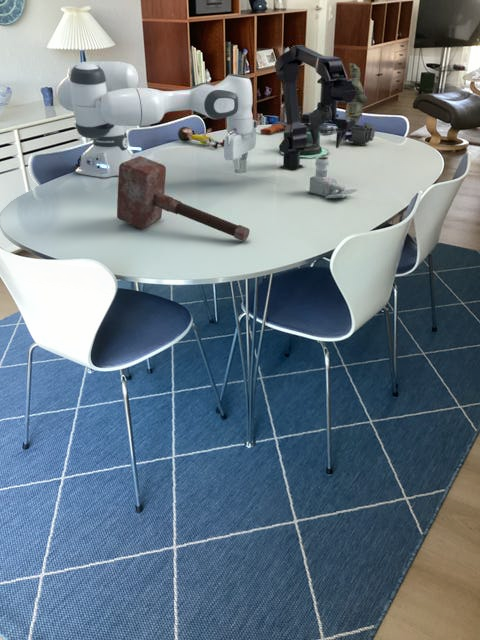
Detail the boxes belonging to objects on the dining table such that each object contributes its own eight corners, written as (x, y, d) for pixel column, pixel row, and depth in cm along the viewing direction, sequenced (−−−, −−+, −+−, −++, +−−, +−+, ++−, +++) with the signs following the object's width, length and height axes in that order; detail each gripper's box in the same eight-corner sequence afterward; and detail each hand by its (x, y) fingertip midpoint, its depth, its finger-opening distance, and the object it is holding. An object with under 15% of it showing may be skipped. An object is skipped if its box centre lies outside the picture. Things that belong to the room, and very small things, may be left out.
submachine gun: (254, 130, 262) (277, 120, 281) (254, 136, 263) (277, 126, 282) (316, 136, 248) (336, 125, 267) (316, 142, 250) (336, 131, 268)
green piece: (332, 145, 241) (326, 158, 224) (294, 164, 249) (286, 177, 233) (317, 113, 235) (310, 124, 219) (279, 133, 244) (269, 145, 228)
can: (233, 173, 194) (233, 160, 192) (236, 170, 198) (235, 157, 195) (245, 173, 193) (245, 160, 191) (247, 170, 197) (247, 157, 195)
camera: (321, 153, 186) (360, 161, 177) (319, 188, 192) (356, 197, 183) (306, 158, 180) (345, 167, 171) (304, 194, 186) (342, 204, 177)
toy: (345, 120, 249) (377, 123, 242) (343, 139, 253) (375, 143, 246) (337, 123, 243) (369, 127, 236) (336, 143, 247) (367, 147, 240)
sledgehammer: (260, 200, 149) (138, 154, 161) (243, 211, 142) (117, 162, 153) (248, 256, 159) (134, 209, 171) (232, 269, 152) (114, 219, 163)
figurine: (211, 139, 238) (170, 125, 250) (210, 157, 242) (170, 142, 255) (230, 134, 247) (190, 120, 259) (229, 150, 251) (189, 136, 263)
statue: (367, 132, 266) (374, 63, 251) (349, 133, 264) (355, 64, 249) (357, 127, 275) (362, 61, 260) (339, 129, 273) (344, 62, 258)
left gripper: (236, 133, 178) (237, 175, 185) (259, 121, 194) (259, 160, 202) (218, 131, 180) (220, 174, 188) (242, 120, 197) (243, 159, 204)
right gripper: (292, 99, 187) (290, 146, 195) (339, 104, 176) (336, 154, 184) (311, 95, 194) (309, 140, 202) (357, 100, 183) (353, 148, 191)
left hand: (240, 167), depth 195 cm, fingers closed on can, 4 cm apart
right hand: (326, 146), depth 194 cm, fingers open, 9 cm apart
